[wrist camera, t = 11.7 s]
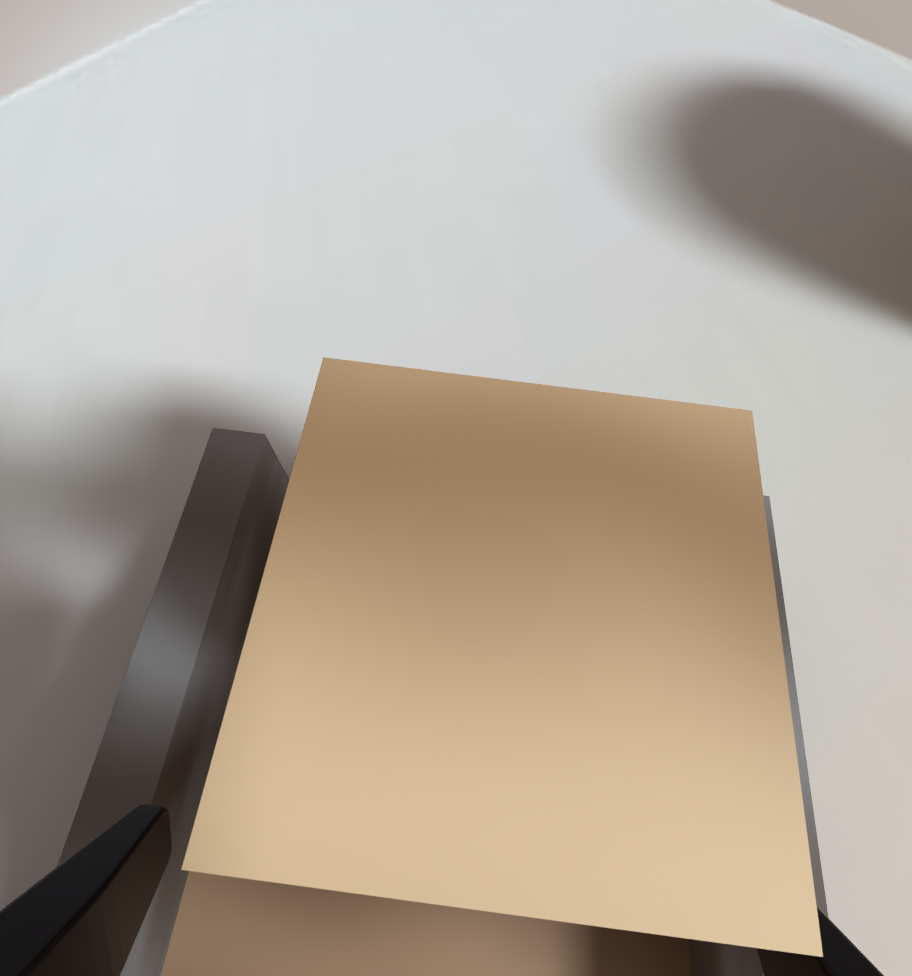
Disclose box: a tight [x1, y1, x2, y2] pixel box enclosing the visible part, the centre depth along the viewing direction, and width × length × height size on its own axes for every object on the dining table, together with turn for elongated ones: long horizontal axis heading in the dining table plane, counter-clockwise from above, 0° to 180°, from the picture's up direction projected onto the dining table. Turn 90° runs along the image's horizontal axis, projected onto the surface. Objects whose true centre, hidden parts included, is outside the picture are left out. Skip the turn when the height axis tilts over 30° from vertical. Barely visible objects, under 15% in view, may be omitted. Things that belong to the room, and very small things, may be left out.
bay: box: [57, 428, 828, 976], centre depth 13 cm, size 19×16×4 cm
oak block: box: [181, 357, 823, 957], centre depth 11 cm, size 5×5×12 cm
